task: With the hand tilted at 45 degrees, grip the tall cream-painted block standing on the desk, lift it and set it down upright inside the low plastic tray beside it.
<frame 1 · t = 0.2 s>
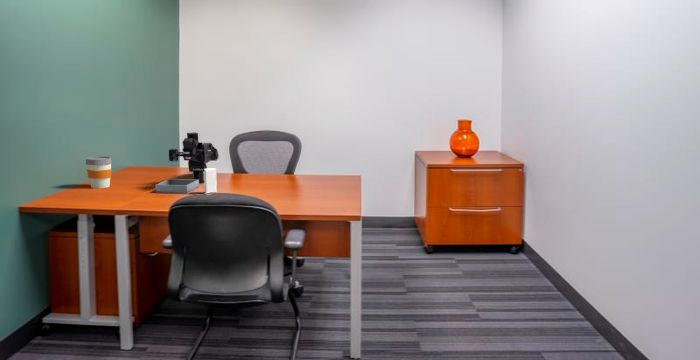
hand: (182, 158, 306), 17 cm above the table, tool horizontal, fingers open, 9 cm apart
reusable coffee cup: (100, 187, 319), on the table
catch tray: (177, 189, 311), on the table
cream block: (210, 193, 304), on the table
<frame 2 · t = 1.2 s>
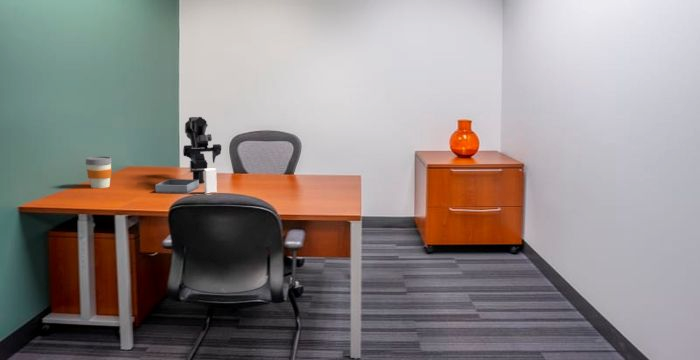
hand: (204, 162, 309), 14 cm above the table, tool tilted 45°, fingers open, 9 cm apart
nothing on the table moved.
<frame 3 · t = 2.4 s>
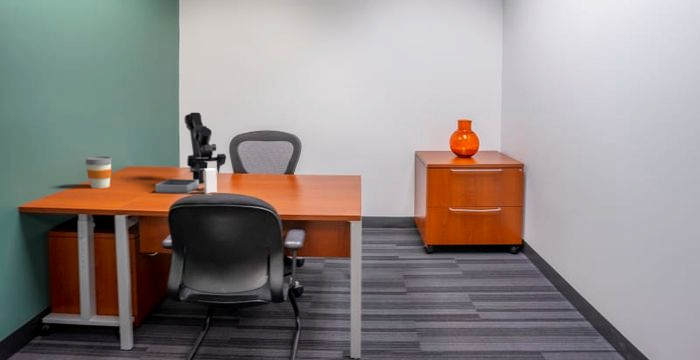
hand: (209, 173, 304), 10 cm above the table, tool tilted 45°, fingers open, 9 cm apart
nothing on the table moved.
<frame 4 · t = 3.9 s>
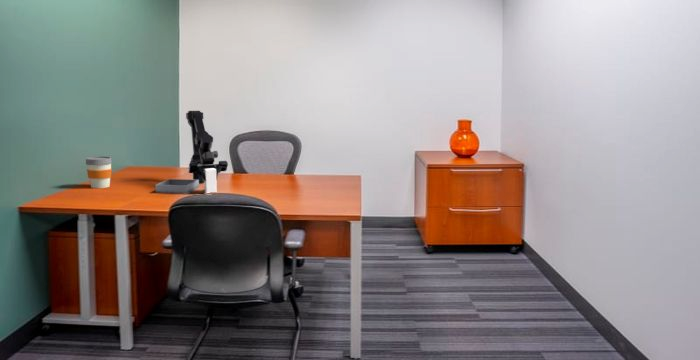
hand: (211, 180, 301), 7 cm above the table, tool tilted 45°, fingers closed on cream block, 5 cm apart
cream block: (210, 193, 304), on the table, touching gripper
everything else where it was.
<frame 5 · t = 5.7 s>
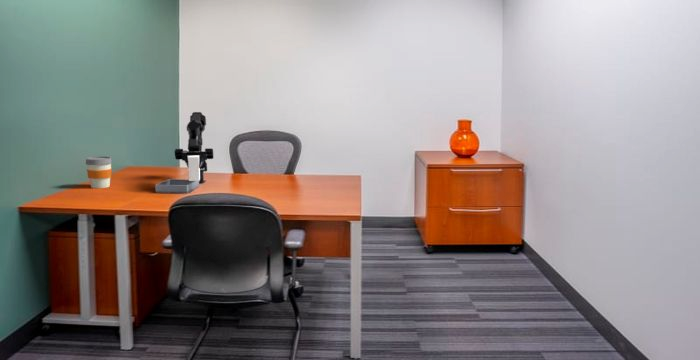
hand: (193, 167, 303), 13 cm above the table, tool tilted 45°, fingers closed on cream block, 5 cm apart
cream block: (194, 180, 306), point 6 cm above the table, touching gripper
everything else where it was.
when the fingers open (9 cm above the table, at t = 7.7 s): cream block drops 1 cm, resting on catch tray.
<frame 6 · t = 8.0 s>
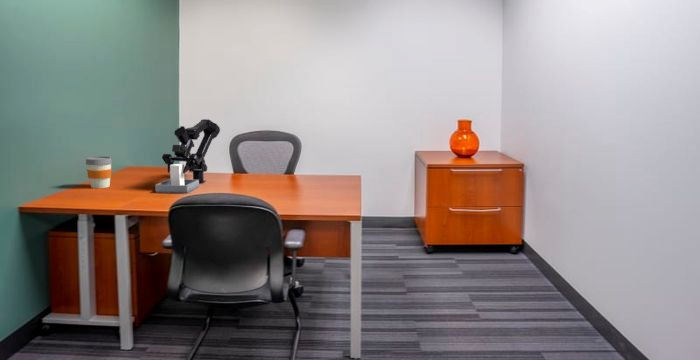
hand: (175, 172, 308), 9 cm above the table, tool tilted 45°, fingers open, 8 cm apart
cream block: (177, 188, 311), point 1 cm above the table, touching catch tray
everything else where it was.
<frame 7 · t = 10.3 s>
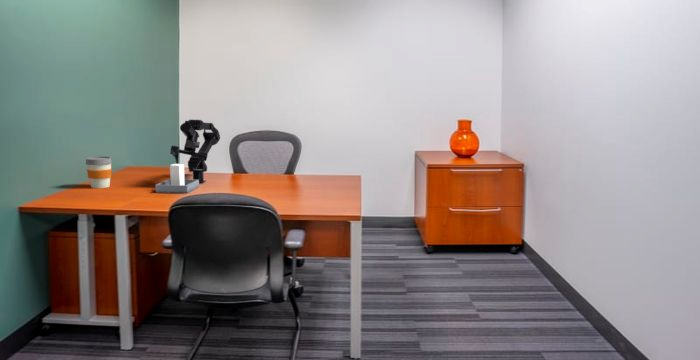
hand: (186, 167, 316), 10 cm above the table, tool tilted 35°, fingers open, 9 cm apart
nothing on the table moved.
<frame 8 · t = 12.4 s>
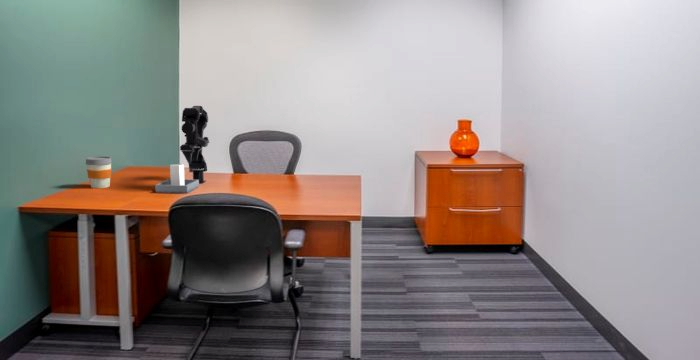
hand: (192, 162, 317), 13 cm above the table, tool pointing down, fingers open, 9 cm apart
nothing on the table moved.
at the end: cream block inside the target area on the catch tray (0.0 cm from its centre), point 1.0 cm above the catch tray's base; cream block tilted 0°; the gripper is holding nothing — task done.
